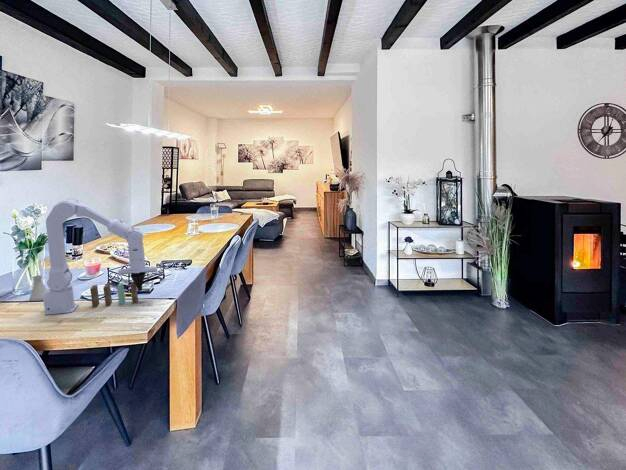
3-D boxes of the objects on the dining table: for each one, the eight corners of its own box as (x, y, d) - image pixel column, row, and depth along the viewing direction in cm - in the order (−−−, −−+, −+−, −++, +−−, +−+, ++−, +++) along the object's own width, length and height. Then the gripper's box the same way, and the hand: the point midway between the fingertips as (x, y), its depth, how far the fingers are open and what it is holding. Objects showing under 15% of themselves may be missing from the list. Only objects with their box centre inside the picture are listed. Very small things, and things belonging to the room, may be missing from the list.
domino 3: (119, 304, 151) (117, 286, 150) (121, 301, 155) (119, 283, 154) (123, 304, 152) (121, 286, 150) (125, 300, 156) (123, 282, 154)
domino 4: (132, 303, 153) (130, 285, 151) (134, 299, 157) (132, 282, 155) (136, 303, 153) (134, 284, 152) (138, 299, 157) (136, 281, 156)
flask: (39, 302, 154) (36, 279, 152) (25, 301, 156) (21, 278, 154) (55, 296, 161) (51, 274, 159) (41, 295, 163) (37, 273, 161)
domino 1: (92, 307, 149) (90, 288, 147) (95, 303, 153) (93, 285, 151) (96, 307, 149) (94, 288, 148) (99, 303, 153) (97, 285, 151)
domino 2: (105, 306, 150) (103, 287, 148) (108, 302, 154) (105, 284, 152) (109, 305, 150) (107, 287, 149) (112, 302, 154) (109, 283, 153)
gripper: (115, 262, 146) (118, 295, 149) (154, 259, 150) (157, 291, 153) (119, 258, 153) (122, 289, 155) (156, 255, 157) (159, 285, 160)
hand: (140, 290), depth 155 cm, fingers closed
